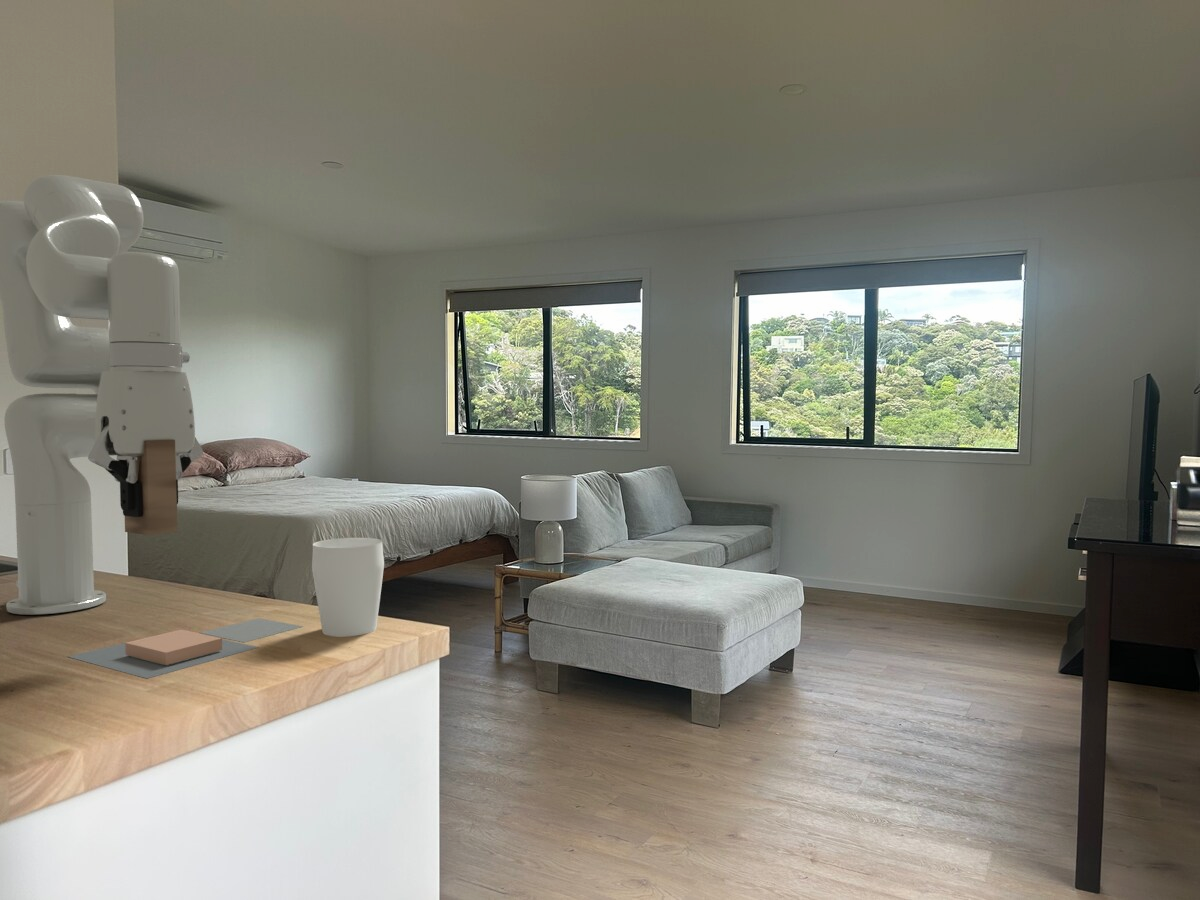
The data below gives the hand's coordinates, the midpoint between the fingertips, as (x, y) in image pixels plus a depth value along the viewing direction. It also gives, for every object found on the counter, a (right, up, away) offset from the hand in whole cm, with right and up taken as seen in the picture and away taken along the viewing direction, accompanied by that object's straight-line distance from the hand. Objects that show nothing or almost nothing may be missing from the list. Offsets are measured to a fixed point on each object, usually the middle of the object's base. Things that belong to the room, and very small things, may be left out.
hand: (150, 512), depth 104 cm
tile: (0, -15, 0) cm, 15 cm away
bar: (0, -2, 0) cm, 2 cm away
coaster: (+8, -17, +9) cm, 21 cm away
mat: (+2, -17, -1) cm, 17 cm away
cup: (+21, -17, +9) cm, 29 cm away
